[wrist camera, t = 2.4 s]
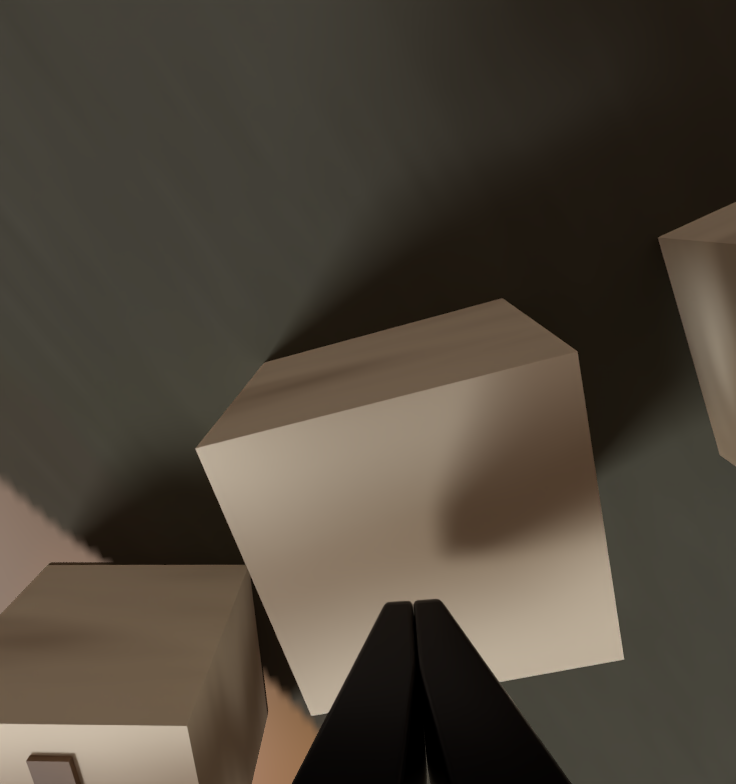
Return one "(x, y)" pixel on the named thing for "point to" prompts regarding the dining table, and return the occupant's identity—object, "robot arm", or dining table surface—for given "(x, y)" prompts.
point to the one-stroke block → (131, 676)
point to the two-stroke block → (709, 311)
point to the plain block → (421, 495)
